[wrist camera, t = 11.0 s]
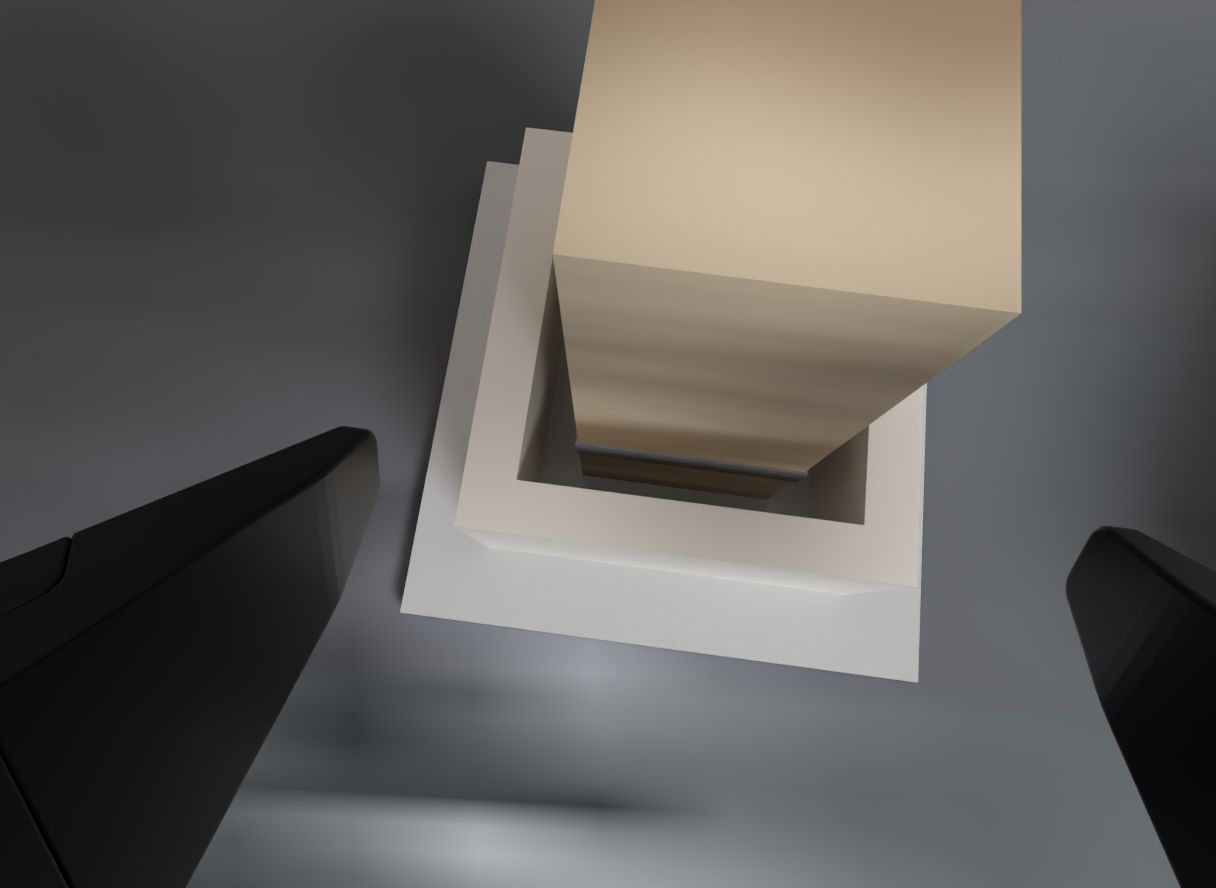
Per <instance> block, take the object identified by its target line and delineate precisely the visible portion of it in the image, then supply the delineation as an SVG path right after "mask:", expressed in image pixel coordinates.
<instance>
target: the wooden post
mask: <svg viewBox="0 0 1216 888" xmlns="http://www.w3.org/2000/svg"><path fill="white" fill-rule="evenodd" d="M553 260H554V268H555V275H556V283H557V290H558V297H559V305H560V312H561V319H562V327H563V334H564V342H565V349H566V356H567V364H568V371H569V378H570V386H571V393H572V401H573V408H574V415H575V423H576V430H577V435H576V442H575V446H576V452H577V453H580V460H581V467H582V474H583V475H585V476H592V477H600V478H607V479H615V480H622V481H630V482H637V483H645V484H652V485H660V486H667V487H675V488H682V489H690V490H697V491H705V492H712V493H720V494H727V495H735V496H742V497H750V498H757V499H765V500H768V499H769V498H770V497H772V496H773V495H774V494H776V493H777V492H779V491H780V490H781V489H783V488H784V487H785V486H787V485H788V484H789V483H791V482H798V481H799V480H801V479H802V478H804V477H805V476H806V475H808V469H810V468H811V467H813V466H814V465H815V464H817V463H818V462H819V461H821V460H822V459H823V458H825V457H826V456H828V455H829V454H830V453H832V452H833V451H834V450H836V449H837V448H838V447H840V446H841V445H843V444H844V443H845V442H847V441H848V440H849V439H851V438H852V437H853V436H855V435H856V434H858V433H859V432H860V431H862V430H863V429H864V428H866V427H867V426H868V425H870V424H871V423H872V422H874V421H875V420H877V419H878V418H879V417H881V416H882V415H883V414H885V413H886V412H887V411H889V410H890V409H892V408H893V407H894V406H896V405H897V404H898V403H900V402H901V401H902V400H904V399H905V398H907V397H908V396H909V395H911V394H912V393H913V392H915V391H916V390H917V389H919V388H920V387H922V386H923V385H924V384H926V383H927V382H928V381H930V380H931V379H932V378H934V377H935V376H937V375H938V374H939V373H941V372H942V371H943V370H945V369H946V368H947V367H949V366H950V365H951V364H953V363H954V362H956V361H957V360H958V359H960V358H961V357H962V356H964V355H965V354H966V353H968V352H969V351H971V350H972V349H973V348H975V347H976V346H977V345H979V344H980V343H981V342H983V341H984V340H986V339H987V338H988V337H990V336H991V335H992V334H994V333H995V332H996V331H998V330H999V329H1001V328H1002V327H1003V326H1005V325H1006V324H1007V323H1009V322H1010V321H1011V320H1013V319H1014V318H1016V317H1017V316H1018V315H1020V314H1021V0H595V4H594V10H593V16H592V22H591V28H590V34H589V40H588V46H587V52H586V58H585V64H584V70H583V76H582V82H581V88H580V94H579V100H578V106H577V112H576V118H575V124H574V130H573V136H572V142H571V147H570V153H569V159H568V165H567V171H566V177H565V183H564V189H563V195H562V201H561V207H560V213H559V219H558V225H557V231H556V237H555V243H554V249H553Z"/></svg>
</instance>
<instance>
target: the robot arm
mask: <svg viewBox="0 0 1216 888" xmlns="http://www.w3.org/2000/svg"><path fill="white" fill-rule="evenodd" d="M379 493H380V477H379V463H378V450H377V440H376V437H375V434H374V433H373V432H372V431H371V430H368V429H362V428H354V427H346V426H340V427H337V428H335V429H332V430H330V431H327V432H325V433H322V434H320V435H317V436H315V437H312V438H310V439H307V440H305V441H302V442H300V443H297V444H295V445H292V446H290V447H287V448H285V449H283V450H280V451H278V452H275V453H273V454H270V455H268V456H265V457H263V458H260V459H258V460H255V461H253V462H250V463H248V464H245V465H243V466H240V467H238V468H235V469H233V470H230V471H228V472H225V473H223V474H220V475H218V476H215V477H213V478H211V479H208V480H206V481H203V482H201V483H198V484H196V485H193V486H191V487H188V488H186V489H183V490H181V491H178V492H176V493H173V494H171V495H168V496H166V497H163V498H161V499H158V500H156V501H153V502H151V503H148V504H146V505H143V506H141V507H138V508H136V509H134V510H131V511H129V512H126V513H124V514H121V515H119V516H116V517H114V518H111V519H109V520H106V521H104V522H101V523H99V524H96V525H94V526H91V527H89V528H86V529H84V530H81V531H79V532H76V533H74V534H73V536H72V539H71V538H70V537H63V538H61V539H58V540H56V541H54V542H51V543H49V544H46V545H44V546H41V547H39V548H36V549H34V550H32V551H29V552H26V553H24V554H21V555H19V556H16V557H13V558H11V559H8V560H6V561H3V562H0V888H186V887H187V885H188V883H189V881H190V879H191V878H192V876H193V874H194V872H195V870H196V868H197V866H198V864H199V863H200V861H201V859H202V857H203V855H204V853H205V851H206V850H207V848H208V846H209V844H210V842H211V840H212V838H213V836H214V835H215V833H216V831H217V829H218V827H219V825H220V823H221V822H222V820H223V818H224V816H225V814H226V812H227V810H228V808H229V807H230V805H231V803H232V801H233V799H234V797H235V795H236V794H237V792H238V790H239V788H240V786H241V784H242V782H243V780H244V779H245V777H246V775H247V773H248V771H249V769H250V767H251V766H252V764H253V762H254V760H255V758H256V756H257V754H258V752H259V751H260V749H261V747H262V745H263V743H264V741H265V739H266V737H267V736H268V734H269V732H270V730H271V728H272V726H273V724H274V723H275V721H276V719H277V717H278V715H279V713H280V711H281V709H282V708H283V706H284V704H285V702H286V700H287V698H288V696H289V695H290V693H291V691H292V689H293V687H294V685H295V683H296V681H297V680H298V678H299V676H300V674H301V672H302V670H303V668H304V667H305V665H306V663H307V661H308V659H309V657H310V655H311V653H312V652H313V650H314V648H315V646H316V644H317V642H318V640H319V639H320V637H321V635H322V633H323V631H324V629H325V627H326V625H327V624H328V622H329V620H330V618H331V616H332V614H333V612H334V610H335V608H336V606H337V604H338V602H339V600H340V598H341V595H342V593H343V590H344V588H345V586H346V583H347V581H348V578H349V575H350V573H351V570H352V568H353V565H354V562H355V560H356V557H357V555H358V552H359V549H360V547H361V544H362V542H363V539H364V536H365V534H366V531H367V529H368V526H369V524H370V521H371V518H372V516H373V513H374V511H375V508H376V505H377V502H378V499H379ZM1066 596H1067V600H1068V603H1069V606H1070V610H1071V613H1072V616H1073V619H1074V622H1075V625H1076V629H1077V632H1078V635H1079V638H1080V641H1081V645H1082V648H1083V651H1084V654H1085V657H1086V660H1087V664H1088V667H1089V670H1090V673H1091V676H1092V679H1093V683H1094V686H1095V689H1096V692H1097V694H1098V697H1099V700H1100V703H1101V706H1102V708H1103V711H1104V713H1105V716H1106V718H1107V721H1108V723H1109V725H1110V728H1111V730H1112V732H1113V735H1114V737H1115V739H1116V741H1117V744H1118V746H1119V748H1120V751H1121V753H1122V755H1123V757H1124V760H1125V762H1126V764H1127V767H1128V769H1129V771H1130V773H1131V776H1132V778H1133V780H1134V783H1135V785H1136V787H1137V789H1138V792H1139V794H1140V796H1141V799H1142V801H1143V803H1144V805H1145V808H1146V810H1147V812H1148V815H1149V817H1150V819H1151V821H1152V824H1153V826H1154V828H1155V831H1156V833H1157V835H1158V837H1159V840H1160V842H1161V844H1162V847H1163V849H1164V851H1165V853H1166V856H1167V858H1168V860H1169V863H1170V865H1171V867H1172V869H1173V872H1174V874H1175V876H1176V879H1177V881H1178V883H1179V885H1180V888H1216V572H1214V571H1212V570H1210V569H1208V568H1207V567H1205V566H1203V565H1201V564H1199V563H1197V562H1196V561H1194V560H1192V559H1190V558H1188V557H1186V556H1184V555H1183V554H1181V553H1179V552H1177V551H1175V550H1173V549H1171V548H1170V547H1168V546H1166V545H1164V544H1162V543H1160V542H1159V541H1157V540H1155V539H1153V538H1151V537H1149V536H1147V535H1146V534H1144V533H1142V532H1140V531H1137V530H1133V529H1127V528H1119V527H1112V526H1102V527H1099V528H1097V529H1096V530H1094V531H1093V532H1092V533H1091V535H1090V536H1089V538H1088V540H1087V542H1086V543H1085V545H1084V547H1083V549H1082V551H1081V553H1080V554H1079V556H1078V558H1077V560H1076V562H1075V563H1074V565H1073V567H1072V569H1071V571H1070V572H1069V574H1068V577H1067V580H1066Z"/></svg>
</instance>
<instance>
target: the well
mask: <svg viewBox="0 0 1216 888" xmlns="http://www.w3.org/2000/svg"><path fill="white" fill-rule="evenodd" d="M572 136H573V133H569V132H561V131H553V130H544V129H536V128H527V127H526V131H525V136H524V142H523V147H522V153H521V158H520V164H519V165H515V164H507V163H499V162H491V161H487V165H486V170H485V175H484V180H483V186H482V191H481V196H480V201H479V206H478V211H477V217H476V222H475V227H474V232H473V237H472V243H471V248H470V253H469V258H468V263H467V268H466V274H465V279H464V284H463V289H462V294H461V299H460V305H459V310H458V315H457V320H456V325H455V330H454V336H453V341H452V346H451V351H450V356H449V362H448V367H447V372H446V377H445V382H444V387H443V393H442V398H441V403H440V408H439V413H438V418H437V424H436V429H435V434H434V439H433V444H432V450H431V455H430V460H429V465H428V470H427V475H426V481H425V486H424V491H423V496H422V501H421V506H420V512H419V517H418V522H417V527H416V532H415V537H414V543H413V548H412V553H411V558H410V563H409V569H408V574H407V579H406V584H405V589H404V594H403V600H402V605H401V610H400V612H401V613H408V614H415V615H423V616H430V617H437V618H445V619H452V620H460V621H467V622H474V623H482V624H489V625H497V626H504V627H511V628H519V629H526V630H533V631H541V632H548V633H556V634H563V635H570V636H578V637H585V638H593V639H600V640H607V641H615V642H622V643H629V644H637V645H644V646H652V647H659V648H666V649H674V650H681V651H689V652H696V653H703V654H711V655H718V656H725V657H733V658H740V659H748V660H755V661H762V662H770V663H777V664H785V665H792V666H799V667H807V668H814V669H821V670H829V671H836V672H844V673H851V674H858V675H866V676H873V677H881V678H888V679H895V680H903V681H910V682H917V683H918V664H919V629H920V595H921V561H922V527H923V493H924V458H925V424H926V390H927V383H926V384H924V385H923V386H922V387H920V388H919V389H917V390H916V391H915V392H913V393H912V394H911V395H909V396H908V397H907V398H905V399H904V400H902V401H901V402H900V403H898V404H897V405H896V406H894V407H893V408H892V409H890V410H889V411H887V412H886V413H885V414H883V415H882V416H881V417H879V418H878V419H877V420H875V421H874V422H872V423H871V424H870V425H868V426H867V427H866V428H864V429H863V430H862V431H860V432H859V433H858V434H856V435H855V436H853V437H852V438H851V439H849V440H848V441H847V442H845V443H844V444H843V445H841V446H840V447H838V448H837V449H836V450H834V451H833V452H832V453H830V454H829V455H828V456H826V457H825V458H823V459H822V460H821V461H819V462H818V463H817V464H815V465H814V466H813V467H811V468H810V469H808V475H806V476H805V477H804V478H802V479H801V480H799V481H798V482H791V483H789V484H788V485H787V486H785V487H784V488H783V489H781V490H780V491H779V492H777V493H776V494H774V495H773V496H772V497H770V498H769V499H768V500H765V499H757V498H750V497H742V496H735V495H727V494H720V493H712V492H705V491H697V490H690V489H682V488H675V487H667V486H660V485H652V484H645V483H637V482H630V481H622V480H615V479H607V478H600V477H592V476H585V475H583V474H582V467H581V460H580V453H577V452H576V446H575V442H576V435H577V430H576V423H575V415H574V408H573V401H572V393H571V386H570V378H569V371H568V364H567V356H566V349H565V342H564V334H563V327H562V319H561V312H560V305H559V297H558V290H557V283H556V275H555V268H554V260H553V249H554V243H555V237H556V231H557V225H558V219H559V213H560V207H561V201H562V195H563V189H564V183H565V177H566V171H567V165H568V159H569V153H570V147H571V142H572Z"/></svg>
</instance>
